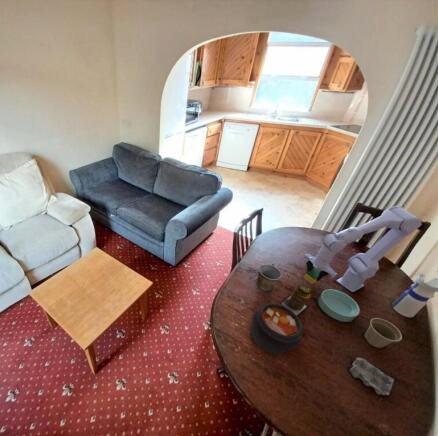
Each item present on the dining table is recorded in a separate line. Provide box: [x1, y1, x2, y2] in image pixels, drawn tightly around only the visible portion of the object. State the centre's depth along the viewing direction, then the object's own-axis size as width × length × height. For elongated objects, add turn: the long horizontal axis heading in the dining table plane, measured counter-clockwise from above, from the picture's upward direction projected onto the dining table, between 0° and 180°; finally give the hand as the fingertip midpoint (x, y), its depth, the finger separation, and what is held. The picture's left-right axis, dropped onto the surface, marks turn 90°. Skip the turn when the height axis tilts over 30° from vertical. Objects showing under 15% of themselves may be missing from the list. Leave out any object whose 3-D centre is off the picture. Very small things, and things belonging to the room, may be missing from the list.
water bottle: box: [391, 270, 438, 318], centre depth 100 cm, size 8×9×25 cm
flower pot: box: [363, 317, 403, 349], centre depth 93 cm, size 9×9×9 cm
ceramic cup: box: [256, 263, 283, 291], centre depth 117 cm, size 13×10×10 cm
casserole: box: [249, 302, 304, 356], centre depth 97 cm, size 25×19×8 cm
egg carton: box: [349, 357, 395, 396], centre depth 84 cm, size 11×8×4 cm
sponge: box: [303, 267, 322, 285], centre depth 117 cm, size 7×4×4 cm, turn 114°
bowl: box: [317, 288, 361, 323], centre depth 107 cm, size 14×14×4 cm
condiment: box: [281, 283, 312, 316], centre depth 106 cm, size 7×8×12 cm
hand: (313, 276), depth 118 cm, fingers closed on sponge, 4 cm apart
